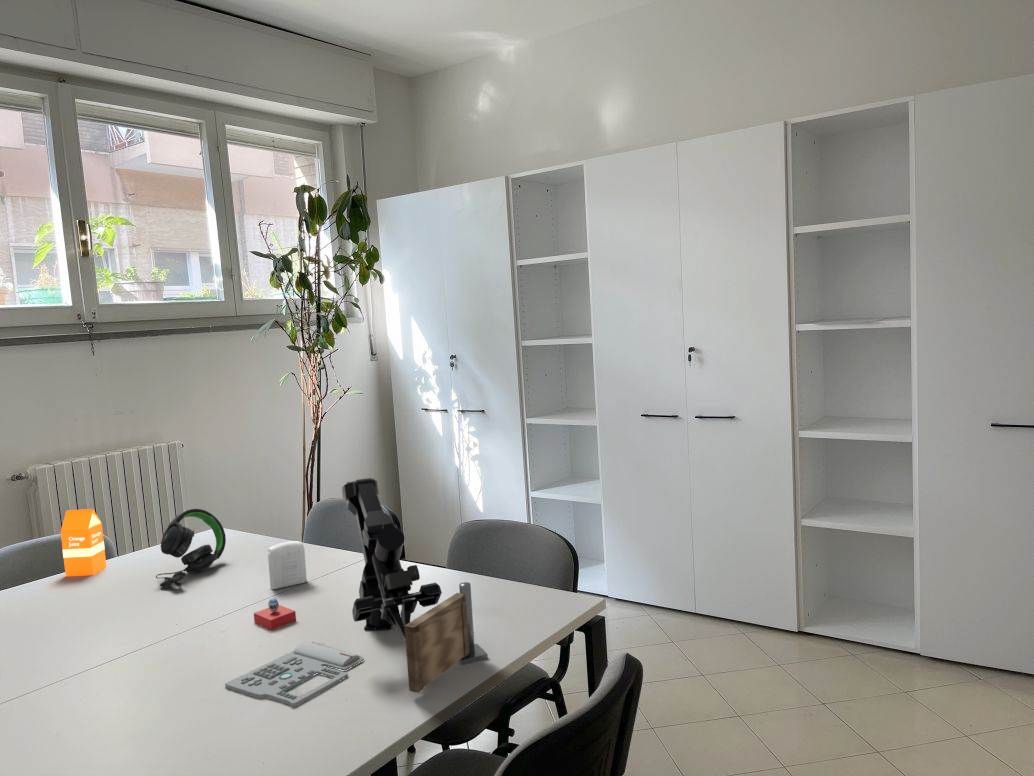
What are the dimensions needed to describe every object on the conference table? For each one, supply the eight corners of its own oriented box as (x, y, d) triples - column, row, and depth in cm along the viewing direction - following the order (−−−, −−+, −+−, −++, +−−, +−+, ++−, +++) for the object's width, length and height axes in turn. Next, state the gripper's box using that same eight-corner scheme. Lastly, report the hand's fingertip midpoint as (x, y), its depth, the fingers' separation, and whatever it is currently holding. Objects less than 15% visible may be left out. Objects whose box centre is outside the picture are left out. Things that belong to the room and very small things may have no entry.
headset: (175, 610, 227) (223, 540, 250) (202, 597, 220) (249, 526, 244) (128, 573, 220) (181, 504, 244) (154, 557, 214) (206, 488, 237)
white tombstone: (304, 578, 223) (300, 537, 222) (309, 582, 219) (305, 540, 218) (268, 587, 217) (264, 544, 216) (272, 591, 214) (269, 547, 212)
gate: (461, 651, 164) (457, 592, 163) (469, 653, 163) (465, 594, 162) (409, 690, 148) (404, 625, 147) (418, 692, 147) (413, 627, 146)
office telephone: (311, 635, 176) (374, 652, 165) (311, 646, 176) (375, 664, 165) (223, 677, 157) (289, 699, 146) (224, 689, 157) (290, 712, 146)
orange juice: (93, 575, 238) (86, 512, 236) (65, 576, 238) (57, 513, 236) (107, 566, 245) (100, 505, 244) (79, 568, 246) (72, 507, 244)
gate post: (477, 647, 169) (472, 577, 167) (487, 658, 163) (483, 585, 162) (451, 654, 166) (446, 582, 165) (461, 664, 161) (456, 591, 160)
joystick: (296, 621, 191) (294, 597, 190) (271, 631, 186) (269, 605, 185) (279, 615, 196) (276, 591, 196) (254, 623, 191) (252, 599, 191)
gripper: (351, 562, 160) (367, 632, 151) (436, 546, 167) (456, 612, 159) (345, 587, 168) (361, 655, 159) (427, 571, 175) (446, 635, 166)
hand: (407, 638), depth 160 cm, fingers closed
